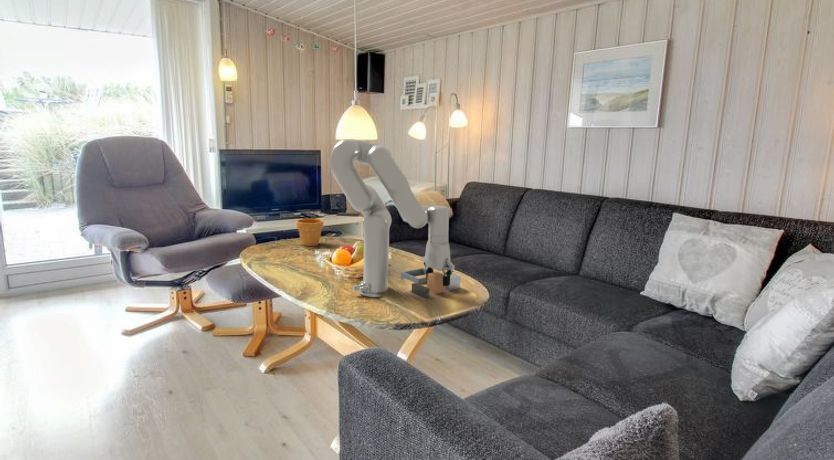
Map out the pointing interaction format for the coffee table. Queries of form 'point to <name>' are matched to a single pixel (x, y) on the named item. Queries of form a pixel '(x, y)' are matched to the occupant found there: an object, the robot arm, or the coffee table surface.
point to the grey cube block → (453, 282)
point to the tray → (412, 273)
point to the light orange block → (435, 282)
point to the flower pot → (309, 231)
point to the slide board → (432, 296)
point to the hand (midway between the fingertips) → (437, 282)
